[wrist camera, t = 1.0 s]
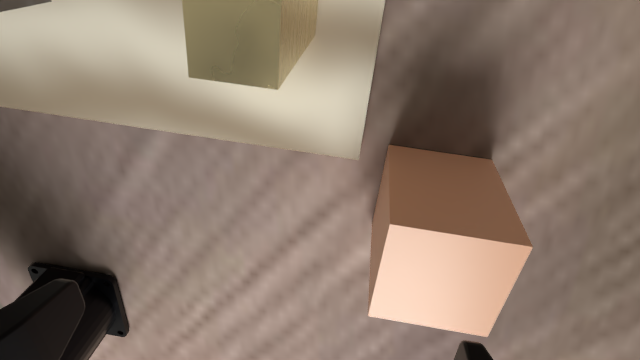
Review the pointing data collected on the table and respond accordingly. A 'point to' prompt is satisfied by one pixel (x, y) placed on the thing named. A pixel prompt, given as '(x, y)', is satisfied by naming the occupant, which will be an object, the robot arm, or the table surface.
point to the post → (247, 39)
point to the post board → (186, 73)
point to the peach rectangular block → (443, 242)
